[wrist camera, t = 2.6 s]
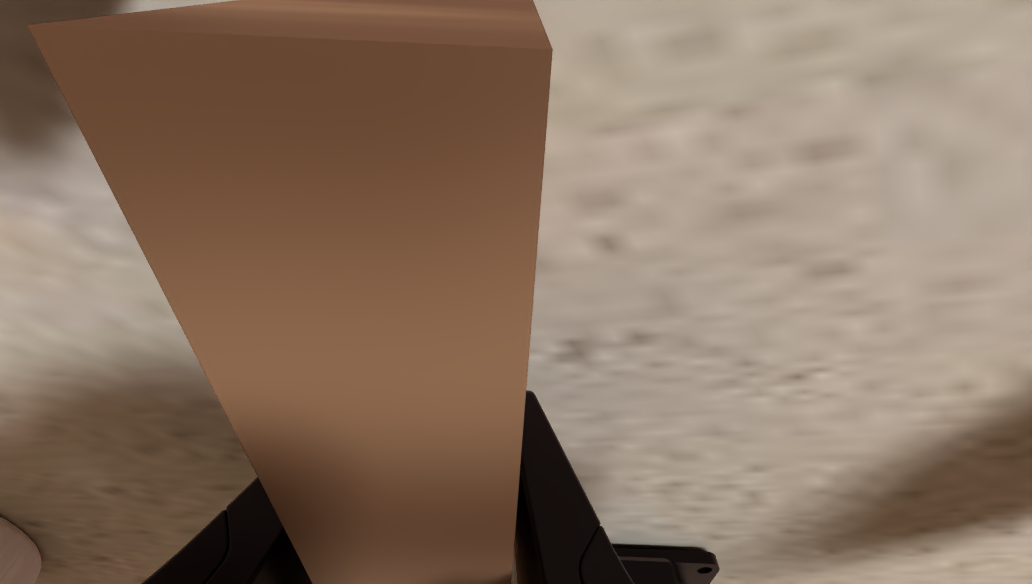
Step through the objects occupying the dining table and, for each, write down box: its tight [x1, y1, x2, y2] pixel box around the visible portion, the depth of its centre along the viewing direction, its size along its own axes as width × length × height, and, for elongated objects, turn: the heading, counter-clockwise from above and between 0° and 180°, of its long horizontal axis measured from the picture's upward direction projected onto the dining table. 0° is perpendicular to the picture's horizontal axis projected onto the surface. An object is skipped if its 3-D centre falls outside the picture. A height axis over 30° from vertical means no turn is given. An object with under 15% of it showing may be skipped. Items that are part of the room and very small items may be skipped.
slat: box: [27, 0, 552, 584], centre depth 8 cm, size 12×3×5 cm, turn 178°
